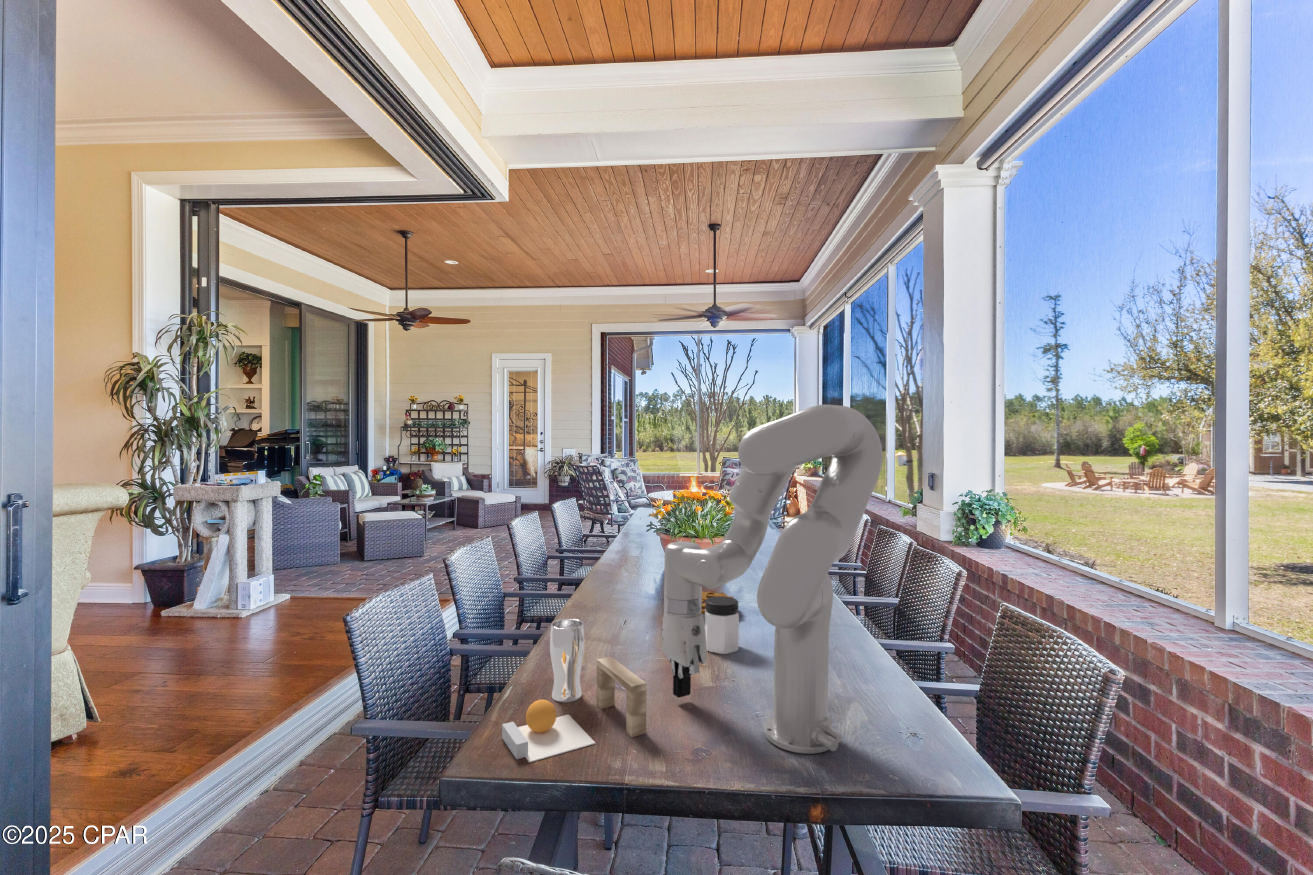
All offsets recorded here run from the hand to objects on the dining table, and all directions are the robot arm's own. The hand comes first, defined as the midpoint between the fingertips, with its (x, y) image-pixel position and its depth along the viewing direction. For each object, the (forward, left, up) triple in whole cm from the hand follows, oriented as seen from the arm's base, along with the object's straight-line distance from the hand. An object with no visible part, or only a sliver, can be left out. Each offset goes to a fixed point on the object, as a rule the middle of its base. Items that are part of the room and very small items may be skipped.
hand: (681, 694), depth 124 cm
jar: (+20, -25, -2) cm, 32 cm away
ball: (+3, +29, +1) cm, 29 cm away
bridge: (0, +14, -2) cm, 14 cm away
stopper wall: (0, +34, -2) cm, 35 cm away
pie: (+46, -37, -2) cm, 59 cm away
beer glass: (+14, +19, -2) cm, 24 cm away
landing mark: (0, +28, -2) cm, 28 cm away
